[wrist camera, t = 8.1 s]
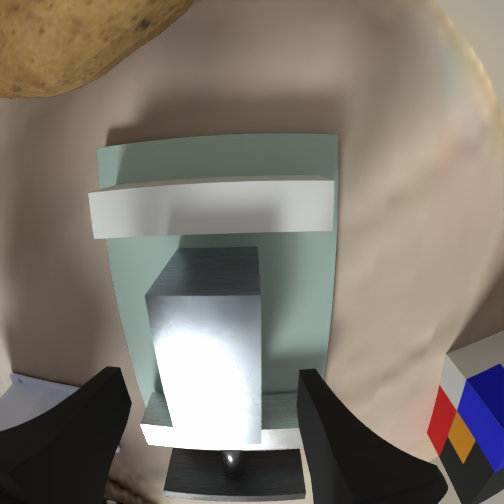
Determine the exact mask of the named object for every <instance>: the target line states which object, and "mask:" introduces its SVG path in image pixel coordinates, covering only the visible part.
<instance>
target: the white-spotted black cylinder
mask: <svg viewBox="0 0 504 504" xmlns="http://www.w3.org/2000/svg"><path fill="white" fill-rule="evenodd" d="M103 504H122V503H119V502H115V501H111V500H104V499H103Z"/></svg>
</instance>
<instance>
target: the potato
mask: <svg viewBox="0 0 504 504" xmlns="http://www.w3.org/2000/svg"><path fill="white" fill-rule="evenodd" d="M192 2H193V0H0V97H3V98H10V99H11V98H27V97H50V96H57V95H59V94H62V93H65V92H68V91H70V90H73V89H76V88H79V87H82V86H84V85H85V84H87V83H89V82H91V81H93V80H95V79H97V78H99V77H101V76H103V75H105V74H106V73H108V72H109V71H110V70H111V69H112V68H114V67H115V66H116V65H117V64H118V63H120V62H121V61H122V60H123V59H125V58H126V57H127V56H129V55H130V54H131V53H133V52H134V51H135V50H137V49H138V48H140V47H141V46H143V45H144V44H146V43H147V42H148V41H150V40H151V39H153V38H155V37H156V36H158V35H159V34H160V33H161V32H163V31H164V30H165V29H166V28H167V27H168V26H170V25H171V24H172V23H173V22H174V21H176V20H177V19H178V18H179V17H180V16H182V15H183V14H184V13H185V12H187V10H188V8H189V7H190V5H191V3H192Z"/></svg>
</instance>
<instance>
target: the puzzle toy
mask: <svg viewBox="0 0 504 504" xmlns="http://www.w3.org/2000/svg"><path fill="white" fill-rule="evenodd" d="M427 434H428V436H429V438H430V440H431V442H432V444H433V446H434V448H435V450H436V452H437V454H438V456H439V457H440V460H441V462H442V464H443V466H444V467H445V470H446V472H447V474H448V476H449V478H450V480H451V482H452V484H453V486H454V489H455V491H456V493H457V495H458V497H459V499H460V502H461V504H479V503H481V502H483V501H485V500H487V499H488V498H490V497H492V496H493V495H495V494H497V493H498V492H500V491H501V490H503V489H504V330H502V331H500V332H498V333H496V334H494V335H491V336H489V337H487V338H484V339H482V340H480V341H477V342H475V343H472V344H470V345H467V346H465V347H462V348H460V349H457V350H455V351H452V352H449V353H447V354H446V355H445V361H444V366H443V371H442V376H441V381H440V385H439V390H438V394H437V398H436V402H435V406H434V410H433V413H432V417H431V421H430V424H429V428H428V431H427Z"/></svg>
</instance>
